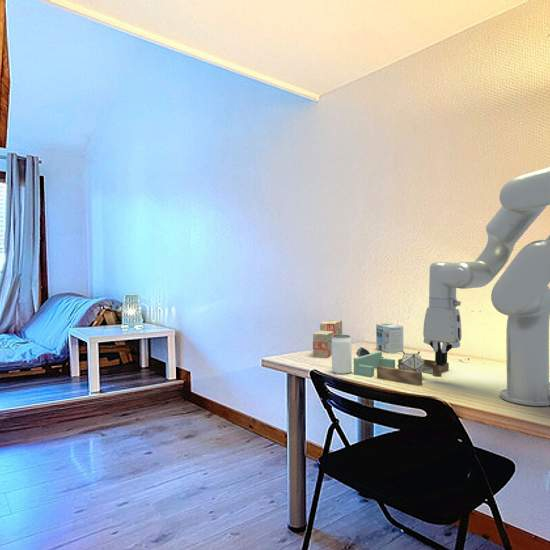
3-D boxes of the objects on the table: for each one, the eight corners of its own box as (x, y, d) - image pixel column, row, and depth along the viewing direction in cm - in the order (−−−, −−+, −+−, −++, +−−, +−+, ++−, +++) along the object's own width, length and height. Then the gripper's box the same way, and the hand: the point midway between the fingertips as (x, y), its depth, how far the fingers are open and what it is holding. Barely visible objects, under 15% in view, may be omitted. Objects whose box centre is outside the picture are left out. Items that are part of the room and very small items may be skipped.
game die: (415, 387, 141) (429, 360, 143) (420, 384, 133) (436, 356, 135) (389, 372, 143) (404, 346, 146) (393, 368, 135) (409, 340, 138)
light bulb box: (375, 349, 187) (375, 323, 187) (389, 348, 189) (389, 322, 189) (389, 353, 177) (389, 326, 177) (404, 352, 179) (404, 325, 179)
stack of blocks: (328, 358, 171) (327, 326, 171) (312, 357, 173) (312, 325, 173) (342, 348, 190) (342, 320, 190) (328, 347, 193) (328, 319, 193)
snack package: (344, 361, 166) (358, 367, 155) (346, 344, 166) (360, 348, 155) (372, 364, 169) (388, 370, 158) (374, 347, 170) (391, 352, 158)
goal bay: (395, 368, 152) (395, 353, 152) (371, 376, 140) (371, 361, 140) (378, 365, 156) (378, 351, 156) (353, 373, 145) (353, 358, 145)
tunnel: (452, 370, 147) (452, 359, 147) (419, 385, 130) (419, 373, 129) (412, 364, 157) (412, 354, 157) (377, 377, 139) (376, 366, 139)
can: (336, 375, 144) (336, 337, 144) (329, 370, 150) (328, 335, 150) (355, 373, 146) (354, 336, 145) (346, 369, 152) (346, 334, 152)
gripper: (472, 304, 130) (471, 367, 131) (423, 301, 140) (422, 358, 141) (463, 307, 124) (461, 371, 125) (412, 302, 135) (411, 363, 135)
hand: (441, 364), depth 133 cm, fingers closed
